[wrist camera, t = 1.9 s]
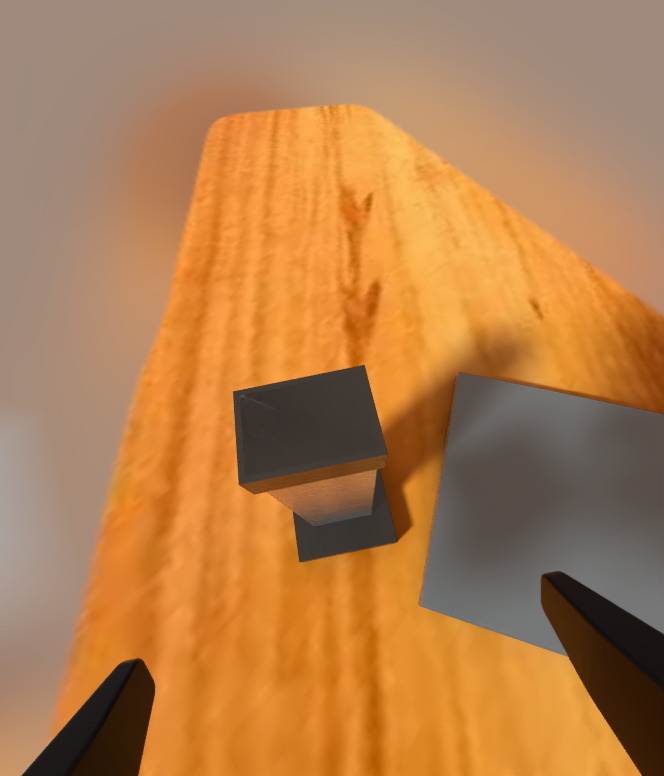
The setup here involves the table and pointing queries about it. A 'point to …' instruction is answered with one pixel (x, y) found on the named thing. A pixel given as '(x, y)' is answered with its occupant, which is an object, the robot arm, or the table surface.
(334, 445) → the tray topped pillar
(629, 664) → the robot arm
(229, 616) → the table surface
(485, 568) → the plate
